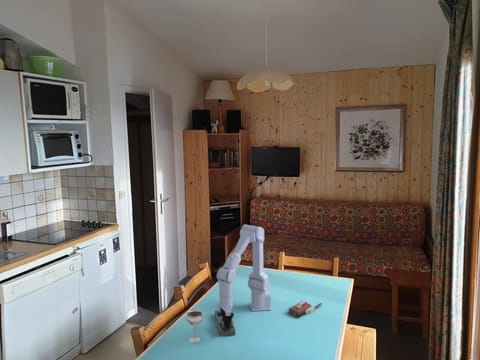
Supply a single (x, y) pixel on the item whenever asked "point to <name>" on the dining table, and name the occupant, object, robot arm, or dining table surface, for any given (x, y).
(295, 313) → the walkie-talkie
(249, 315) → the dining table surface
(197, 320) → the wineglass
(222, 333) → the grey compartment tray
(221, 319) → the nut block
